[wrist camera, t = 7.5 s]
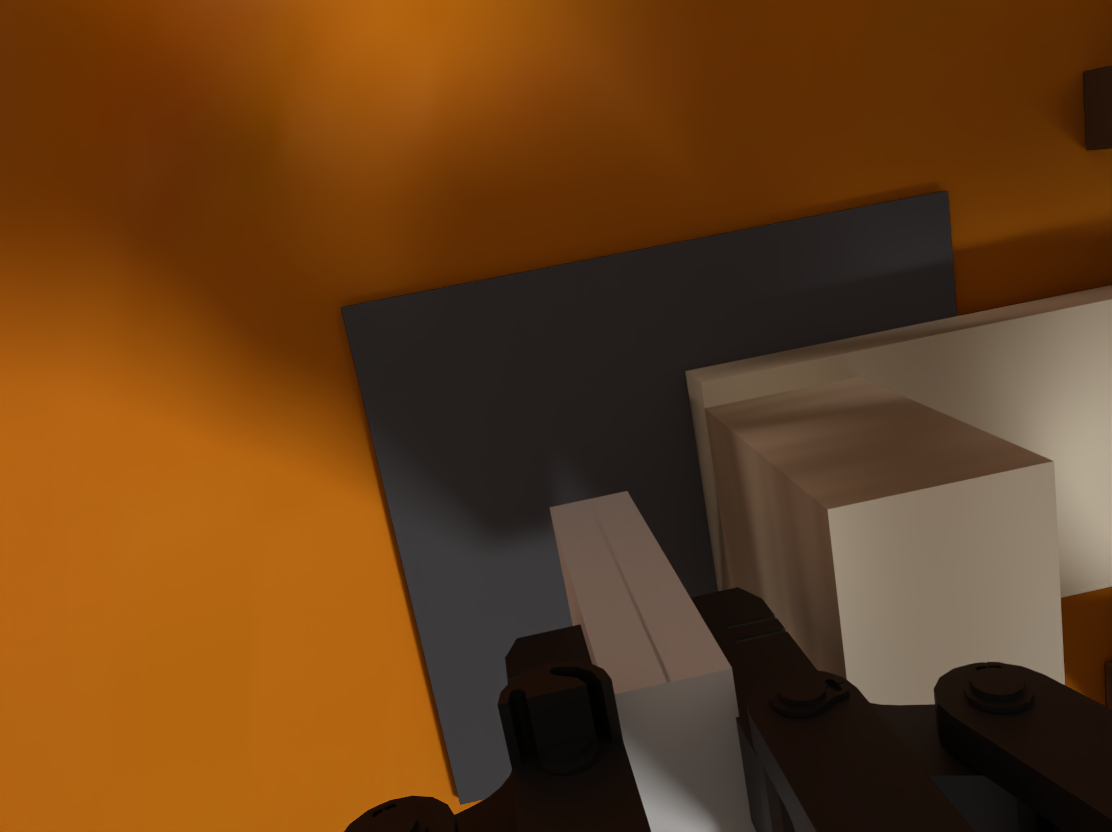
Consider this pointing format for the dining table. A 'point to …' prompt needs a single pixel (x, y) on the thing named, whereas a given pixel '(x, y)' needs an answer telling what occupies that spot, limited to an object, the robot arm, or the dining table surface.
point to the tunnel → (1106, 127)
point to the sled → (918, 489)
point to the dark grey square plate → (593, 415)
